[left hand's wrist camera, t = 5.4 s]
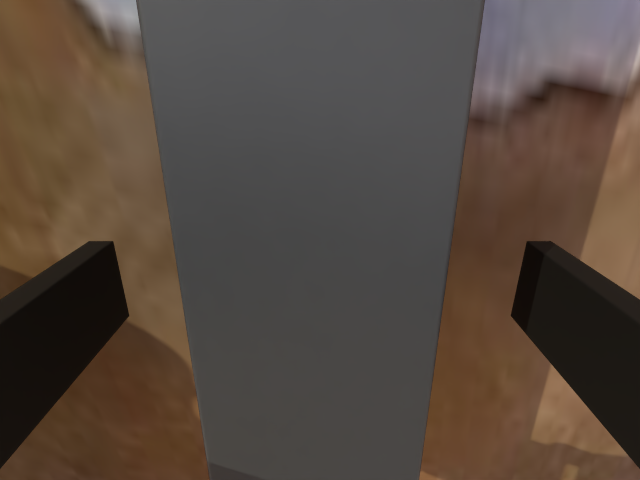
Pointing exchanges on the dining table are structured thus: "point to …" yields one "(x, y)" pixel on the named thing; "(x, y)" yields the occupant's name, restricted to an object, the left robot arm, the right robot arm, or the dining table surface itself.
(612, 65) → the dining table surface
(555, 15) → the dining table surface
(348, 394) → the bar
